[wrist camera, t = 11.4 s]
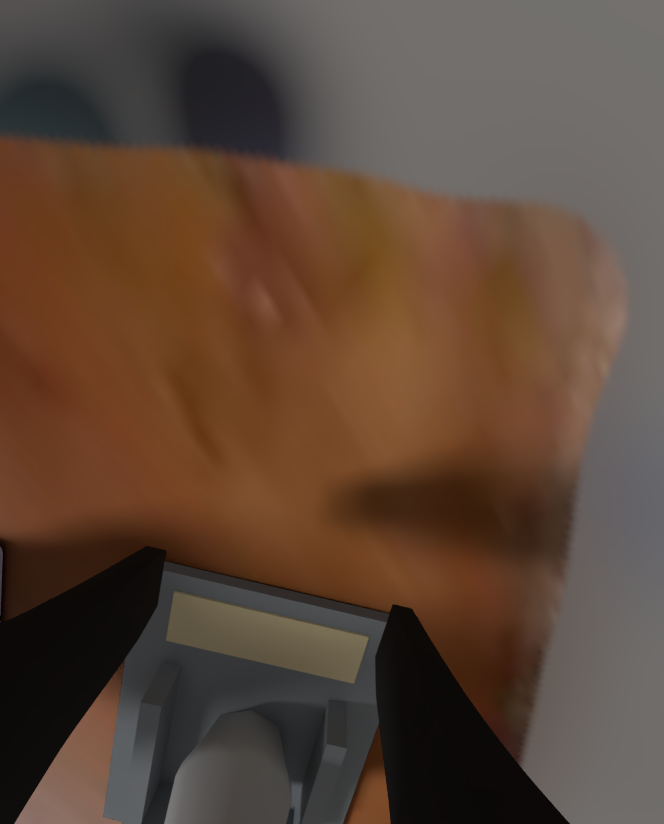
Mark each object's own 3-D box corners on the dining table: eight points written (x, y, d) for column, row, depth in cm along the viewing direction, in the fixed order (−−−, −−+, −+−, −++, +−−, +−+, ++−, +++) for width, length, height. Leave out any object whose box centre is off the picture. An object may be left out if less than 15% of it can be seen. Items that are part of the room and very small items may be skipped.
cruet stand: (109, 803, 21) (77, 868, 18) (144, 556, 17) (110, 594, 14) (328, 851, 21) (326, 921, 18) (410, 618, 17) (421, 666, 15)
